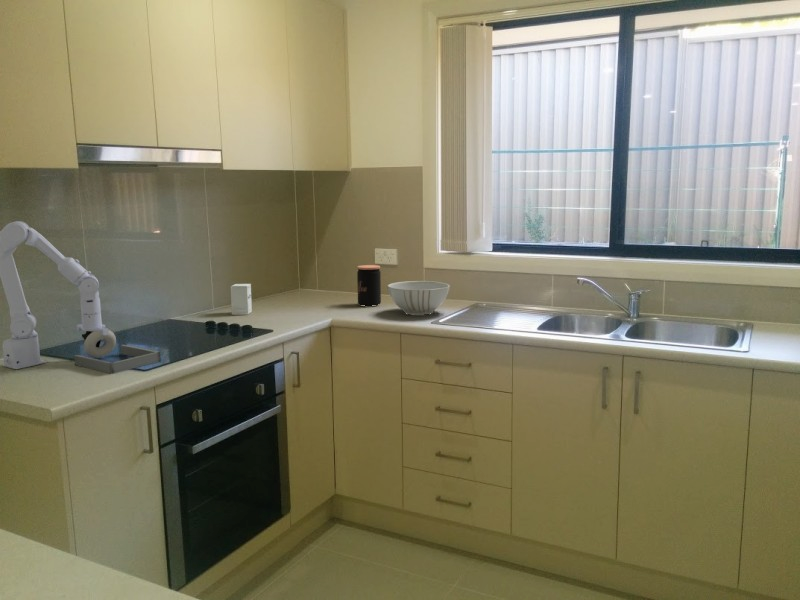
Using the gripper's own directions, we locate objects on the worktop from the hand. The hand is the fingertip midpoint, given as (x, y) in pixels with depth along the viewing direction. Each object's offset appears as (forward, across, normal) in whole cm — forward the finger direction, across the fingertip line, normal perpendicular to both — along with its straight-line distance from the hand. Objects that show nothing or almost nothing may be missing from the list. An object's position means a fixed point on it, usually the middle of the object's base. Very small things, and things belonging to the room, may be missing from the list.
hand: (94, 354), depth 215 cm
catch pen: (+1, -12, 0) cm, 13 cm away
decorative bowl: (+1, -48, -121) cm, 130 cm away
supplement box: (+1, +17, -80) cm, 82 cm away
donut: (+1, -2, 0) cm, 2 cm away
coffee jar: (+1, -18, -126) cm, 127 cm away
